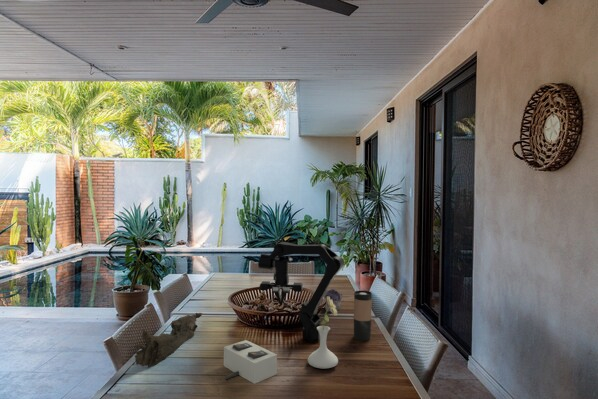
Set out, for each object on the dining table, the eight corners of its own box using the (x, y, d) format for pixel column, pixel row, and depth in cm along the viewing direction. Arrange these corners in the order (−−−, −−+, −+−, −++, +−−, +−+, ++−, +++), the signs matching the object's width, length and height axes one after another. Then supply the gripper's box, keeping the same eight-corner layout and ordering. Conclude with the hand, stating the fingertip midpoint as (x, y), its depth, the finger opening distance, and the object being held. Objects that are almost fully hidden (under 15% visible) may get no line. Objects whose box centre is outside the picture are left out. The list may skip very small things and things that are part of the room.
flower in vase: (329, 374, 139) (330, 304, 138) (301, 366, 145) (302, 299, 144) (345, 361, 150) (346, 296, 149) (319, 354, 156) (320, 291, 155)
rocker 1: (245, 346, 148) (246, 343, 148) (251, 349, 146) (251, 345, 146) (232, 347, 144) (233, 344, 144) (238, 350, 141) (238, 347, 141)
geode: (344, 313, 207) (342, 295, 207) (322, 315, 208) (320, 297, 208) (343, 301, 228) (341, 284, 227) (323, 303, 229) (321, 286, 228)
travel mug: (372, 336, 176) (373, 291, 175) (368, 342, 169) (369, 295, 168) (356, 333, 179) (357, 289, 178) (351, 339, 172) (351, 293, 172)
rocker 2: (260, 353, 142) (261, 350, 142) (267, 357, 139) (267, 353, 139) (247, 355, 137) (248, 351, 138) (254, 358, 135) (254, 355, 135)
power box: (245, 357, 152) (245, 339, 151) (276, 374, 139) (277, 354, 139) (211, 370, 141) (211, 350, 141) (242, 389, 128) (242, 367, 128)
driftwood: (131, 374, 133) (132, 330, 135) (194, 340, 185) (195, 309, 187) (146, 374, 132) (147, 330, 134) (205, 340, 184) (205, 309, 186)
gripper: (303, 267, 183) (303, 301, 183) (264, 266, 184) (263, 299, 185) (301, 273, 171) (301, 308, 172) (259, 271, 173) (259, 306, 174)
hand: (281, 305), depth 176 cm, fingers closed
